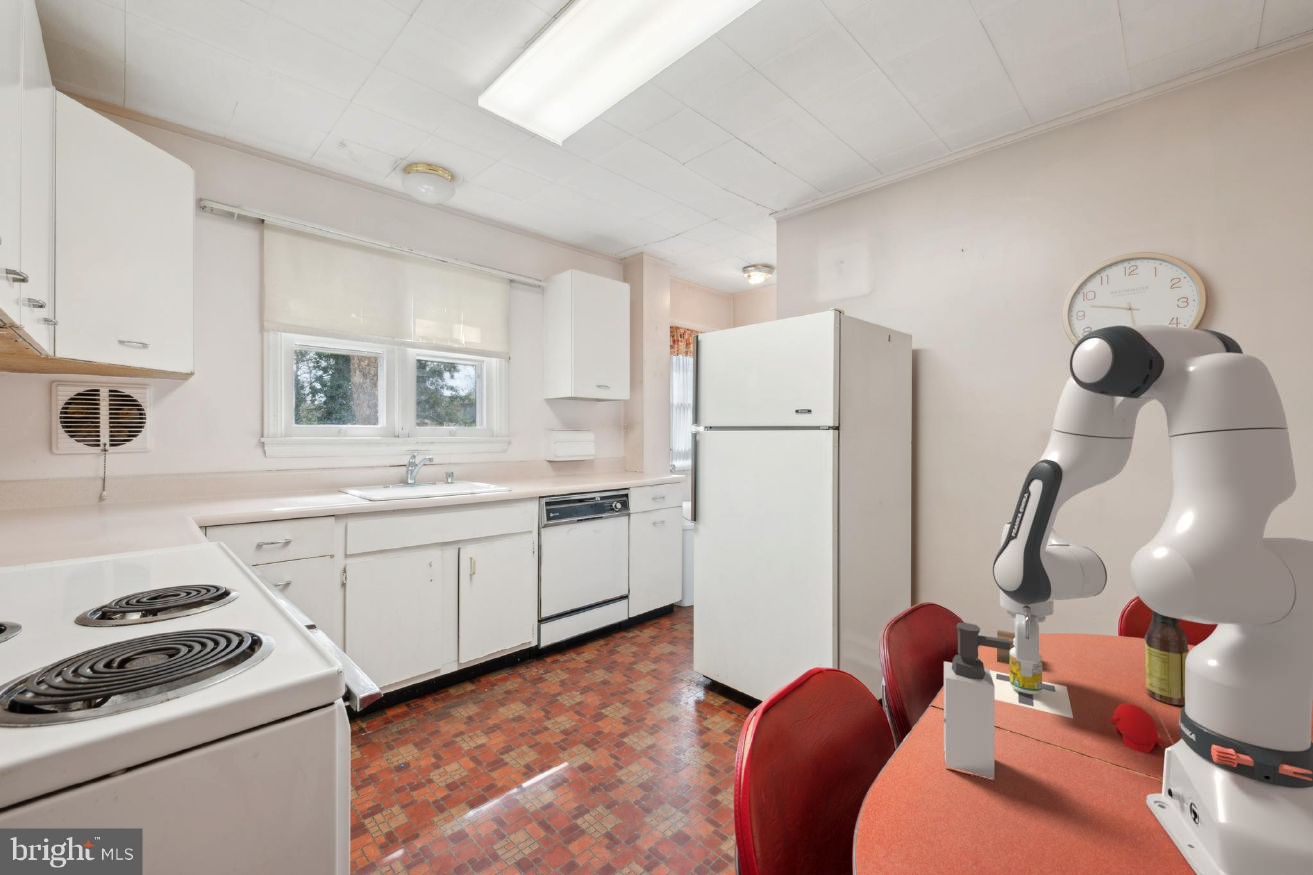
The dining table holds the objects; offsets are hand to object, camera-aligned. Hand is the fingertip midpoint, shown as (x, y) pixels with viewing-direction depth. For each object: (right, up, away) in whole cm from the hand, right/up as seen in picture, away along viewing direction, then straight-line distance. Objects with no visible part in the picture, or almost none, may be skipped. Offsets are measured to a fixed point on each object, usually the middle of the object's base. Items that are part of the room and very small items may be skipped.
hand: (1026, 668), depth 105 cm
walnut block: (+7, -5, +15) cm, 17 cm away
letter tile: (0, -5, 0) cm, 5 cm away
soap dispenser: (-23, -6, -22) cm, 32 cm away
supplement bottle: (0, -4, 0) cm, 4 cm away
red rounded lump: (+7, -6, -16) cm, 19 cm away
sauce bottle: (+26, -5, -2) cm, 27 cm away
